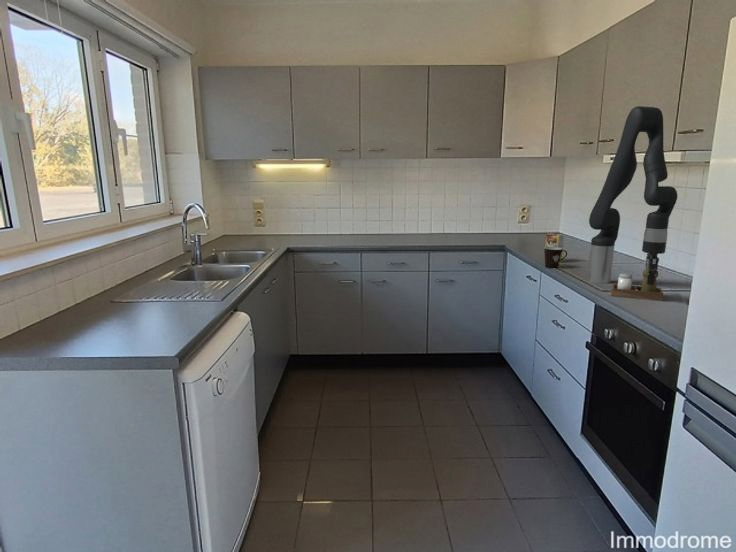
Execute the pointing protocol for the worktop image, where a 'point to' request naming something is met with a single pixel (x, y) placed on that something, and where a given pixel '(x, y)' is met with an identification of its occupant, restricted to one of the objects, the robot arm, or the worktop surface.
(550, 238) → the candy box
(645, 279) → the cork
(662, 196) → the robot arm
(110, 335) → the worktop surface
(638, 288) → the spice caddy
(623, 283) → the salt shaker
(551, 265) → the coffee mug
